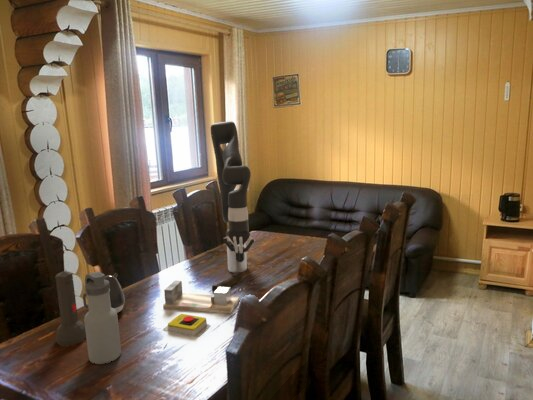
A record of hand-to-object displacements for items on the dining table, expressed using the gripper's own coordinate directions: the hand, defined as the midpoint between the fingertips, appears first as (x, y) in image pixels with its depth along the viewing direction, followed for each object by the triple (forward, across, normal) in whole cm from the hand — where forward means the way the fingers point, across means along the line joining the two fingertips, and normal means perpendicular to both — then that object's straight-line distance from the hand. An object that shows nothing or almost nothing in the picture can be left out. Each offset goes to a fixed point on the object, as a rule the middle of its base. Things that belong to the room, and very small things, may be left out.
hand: (240, 261), depth 169 cm
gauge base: (+19, +17, 0) cm, 25 cm away
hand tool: (+20, +12, -20) cm, 31 cm away
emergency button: (+20, +15, +20) cm, 32 cm away
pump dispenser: (+19, +50, +12) cm, 55 cm away
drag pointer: (+17, +11, +2) cm, 21 cm away
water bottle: (+19, +34, +42) cm, 57 cm away
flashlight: (+19, +52, +34) cm, 65 cm away
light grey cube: (+17, +8, 0) cm, 19 cm away
